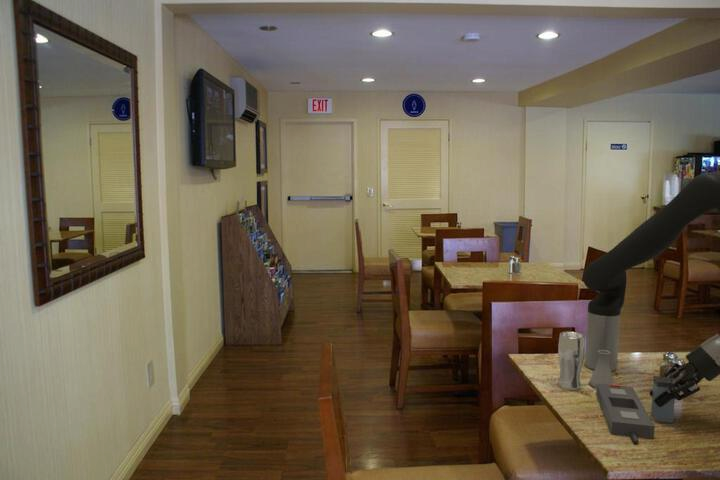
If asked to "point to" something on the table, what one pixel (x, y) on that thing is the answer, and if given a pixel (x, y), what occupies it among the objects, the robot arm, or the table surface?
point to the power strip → (624, 411)
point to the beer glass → (570, 359)
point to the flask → (602, 370)
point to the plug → (666, 410)
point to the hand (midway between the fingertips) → (654, 400)
